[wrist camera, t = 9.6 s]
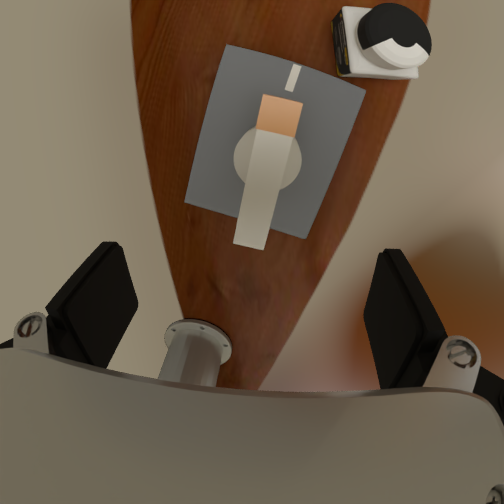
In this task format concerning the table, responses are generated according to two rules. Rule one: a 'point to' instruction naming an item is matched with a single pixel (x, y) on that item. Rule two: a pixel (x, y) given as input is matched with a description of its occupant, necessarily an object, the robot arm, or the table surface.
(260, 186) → the grey and orange blocks
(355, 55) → the medicine bottle
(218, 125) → the coupling base
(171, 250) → the table surface
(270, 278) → the table surface
